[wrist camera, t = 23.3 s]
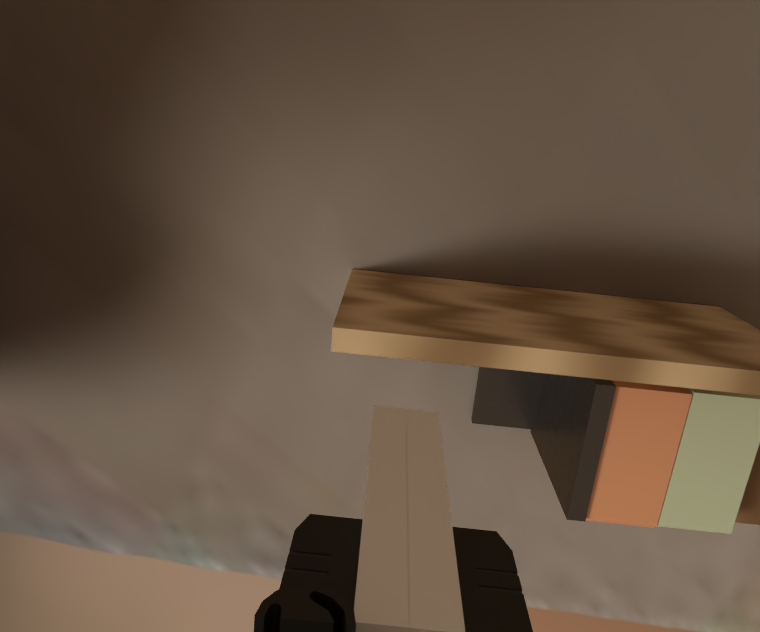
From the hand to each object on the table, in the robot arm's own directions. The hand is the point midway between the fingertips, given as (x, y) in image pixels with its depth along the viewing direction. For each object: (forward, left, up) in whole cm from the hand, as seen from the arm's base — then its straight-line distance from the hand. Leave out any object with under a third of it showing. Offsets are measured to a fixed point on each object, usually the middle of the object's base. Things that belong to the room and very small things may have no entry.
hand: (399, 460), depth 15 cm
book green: (+17, -8, -27) cm, 33 cm away
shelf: (+10, -7, -26) cm, 29 cm away
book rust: (+13, -8, -27) cm, 31 cm away
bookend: (+9, -8, -26) cm, 29 cm away
